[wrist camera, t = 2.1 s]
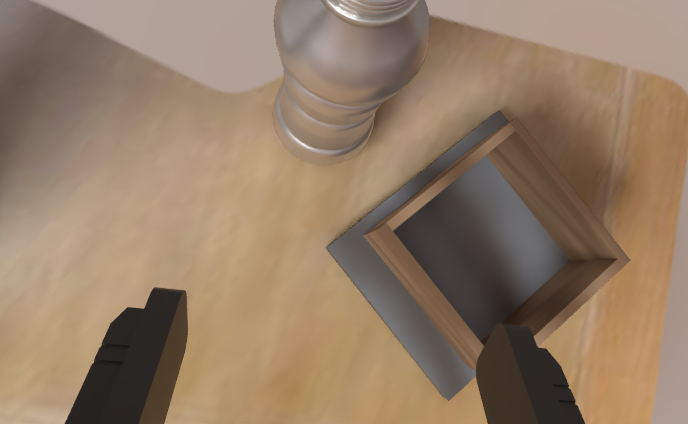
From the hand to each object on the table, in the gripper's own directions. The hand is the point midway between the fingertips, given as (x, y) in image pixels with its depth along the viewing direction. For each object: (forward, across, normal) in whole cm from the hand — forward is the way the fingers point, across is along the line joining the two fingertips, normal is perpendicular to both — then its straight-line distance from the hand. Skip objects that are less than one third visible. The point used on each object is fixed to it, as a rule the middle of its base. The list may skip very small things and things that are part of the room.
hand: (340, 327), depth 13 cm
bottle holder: (+18, -11, +12) cm, 24 cm away
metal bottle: (+23, 0, +7) cm, 24 cm away
